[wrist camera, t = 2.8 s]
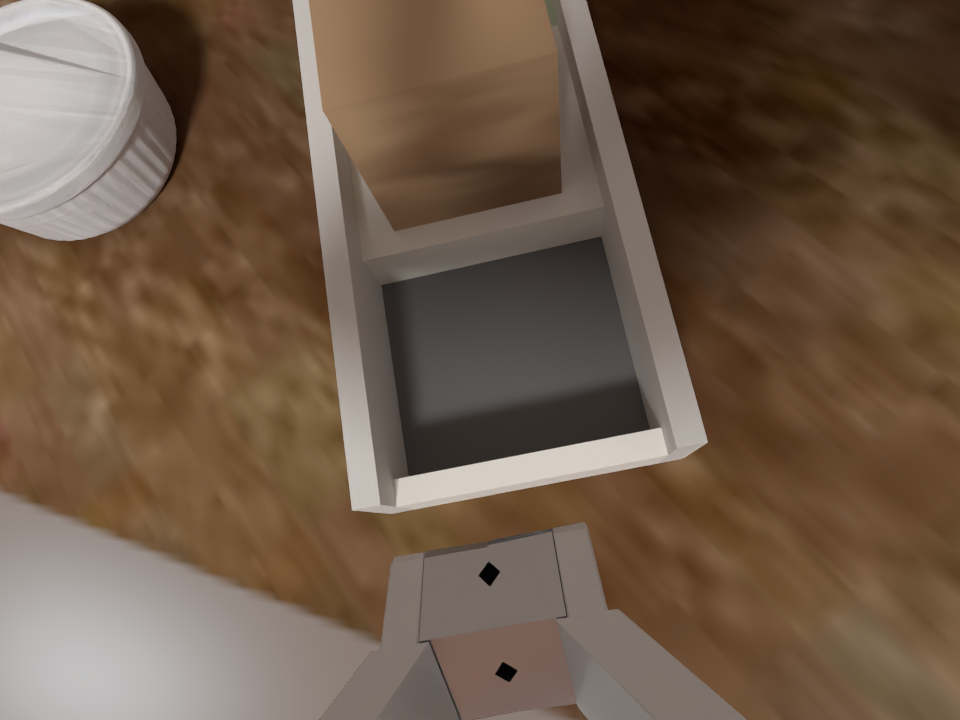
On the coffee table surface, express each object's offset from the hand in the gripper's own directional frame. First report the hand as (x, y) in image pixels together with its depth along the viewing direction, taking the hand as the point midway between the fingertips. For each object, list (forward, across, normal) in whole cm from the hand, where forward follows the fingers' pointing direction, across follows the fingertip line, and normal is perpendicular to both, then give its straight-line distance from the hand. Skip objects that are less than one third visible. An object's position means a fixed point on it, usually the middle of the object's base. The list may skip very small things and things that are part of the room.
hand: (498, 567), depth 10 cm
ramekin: (+28, +19, -4) cm, 34 cm away
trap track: (+27, 0, -4) cm, 27 cm away
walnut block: (+21, 0, -3) cm, 21 cm away
